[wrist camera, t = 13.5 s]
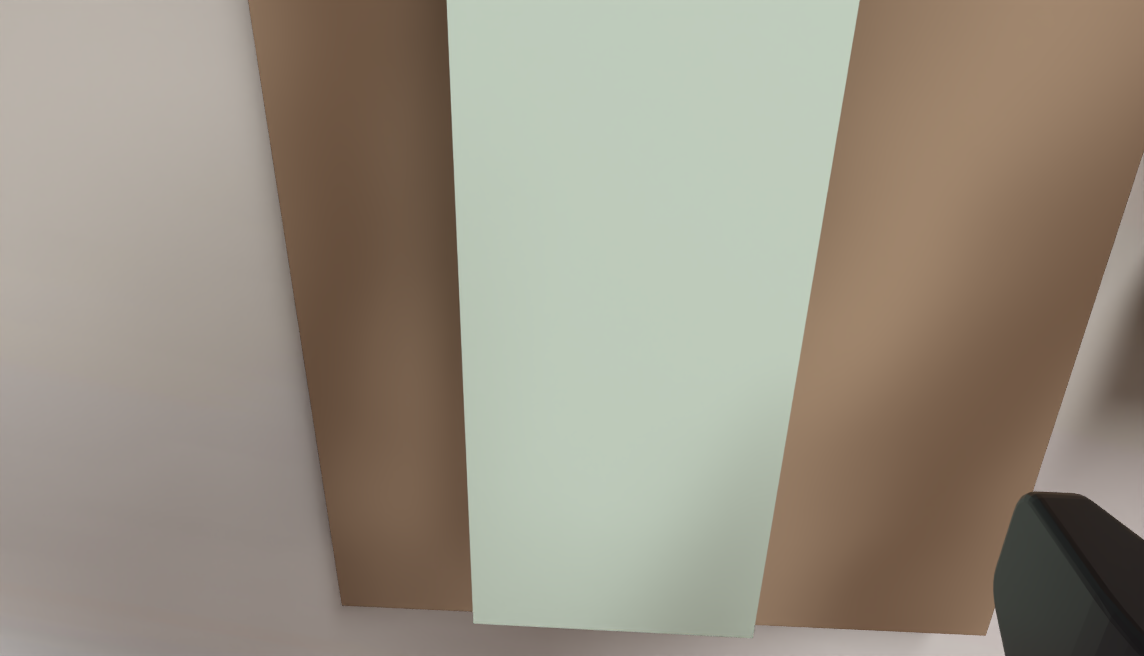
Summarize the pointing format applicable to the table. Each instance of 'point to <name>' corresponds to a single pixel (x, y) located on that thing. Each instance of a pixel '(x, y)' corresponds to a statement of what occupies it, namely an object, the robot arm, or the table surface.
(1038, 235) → the walnut board
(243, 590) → the table surface
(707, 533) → the sanding block
